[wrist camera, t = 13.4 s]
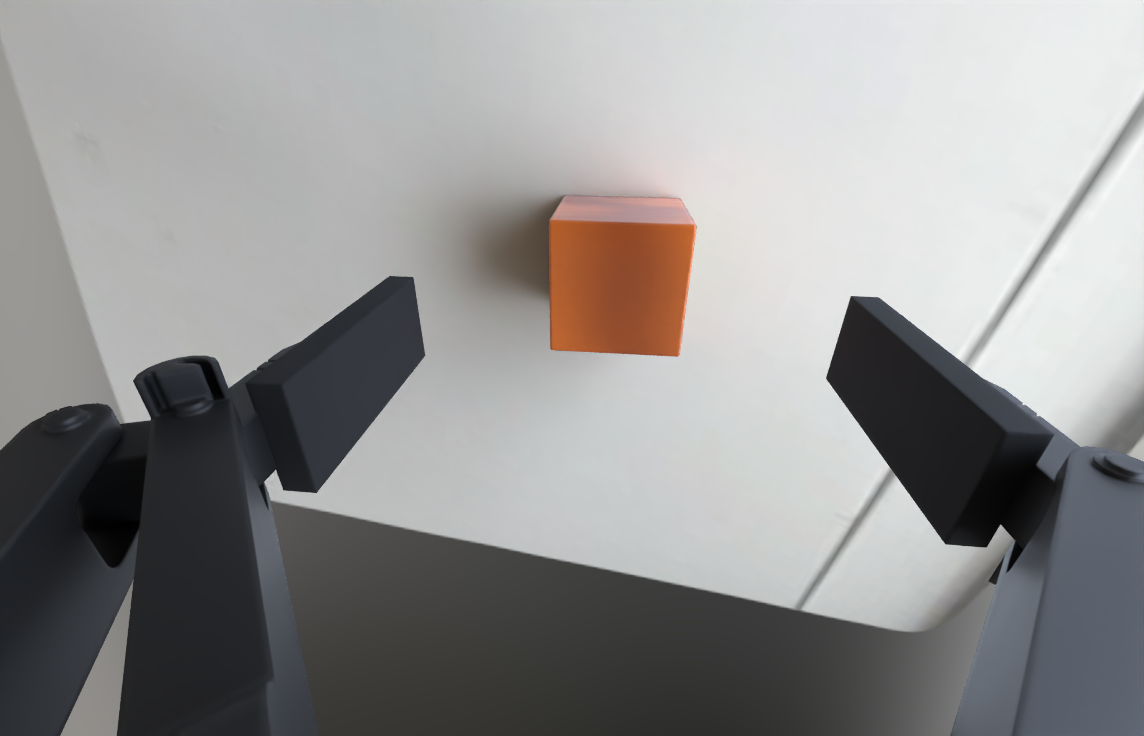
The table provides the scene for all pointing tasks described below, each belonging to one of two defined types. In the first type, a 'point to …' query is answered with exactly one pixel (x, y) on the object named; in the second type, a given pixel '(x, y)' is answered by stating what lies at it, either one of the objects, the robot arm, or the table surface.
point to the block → (619, 274)
